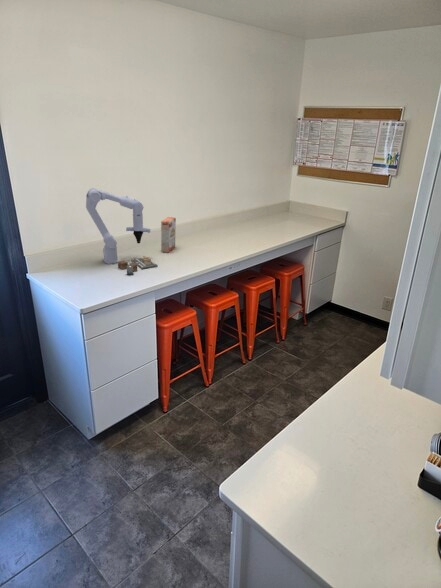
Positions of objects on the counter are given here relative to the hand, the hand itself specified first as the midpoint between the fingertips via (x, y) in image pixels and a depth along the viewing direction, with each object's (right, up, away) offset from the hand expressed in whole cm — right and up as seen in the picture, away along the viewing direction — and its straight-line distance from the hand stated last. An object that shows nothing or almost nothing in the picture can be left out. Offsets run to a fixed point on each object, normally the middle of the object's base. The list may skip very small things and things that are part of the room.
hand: (138, 242), depth 246 cm
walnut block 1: (-7, -16, -12) cm, 21 cm away
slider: (+6, -13, -7) cm, 16 cm away
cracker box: (+15, -2, +24) cm, 29 cm away
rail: (+4, -13, -4) cm, 14 cm away
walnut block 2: (0, -18, -14) cm, 23 cm away
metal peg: (-1, -20, -20) cm, 29 cm away
